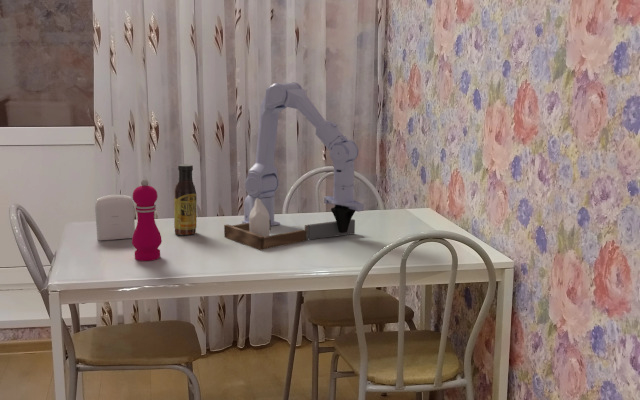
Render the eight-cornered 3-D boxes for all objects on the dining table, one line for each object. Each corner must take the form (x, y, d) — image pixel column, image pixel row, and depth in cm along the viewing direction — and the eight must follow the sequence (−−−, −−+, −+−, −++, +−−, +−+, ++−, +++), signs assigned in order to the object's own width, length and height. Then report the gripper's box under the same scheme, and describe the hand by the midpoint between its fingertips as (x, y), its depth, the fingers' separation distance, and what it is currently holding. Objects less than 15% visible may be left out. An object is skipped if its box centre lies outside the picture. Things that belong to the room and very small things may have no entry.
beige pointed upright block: (268, 200, 189) (247, 200, 190) (268, 243, 192) (248, 243, 192) (270, 196, 195) (250, 196, 195) (270, 238, 198) (250, 237, 198)
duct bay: (224, 237, 198) (224, 222, 197) (272, 228, 209) (272, 214, 208) (260, 250, 185) (260, 234, 184) (309, 240, 196) (309, 225, 195)
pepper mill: (137, 253, 181) (134, 176, 177) (165, 253, 181) (162, 177, 177) (129, 261, 174) (125, 181, 170) (158, 261, 174) (155, 182, 170)
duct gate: (309, 239, 196) (310, 225, 195) (307, 238, 197) (307, 224, 196) (354, 233, 203) (354, 219, 202) (352, 232, 204) (352, 219, 203)
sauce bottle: (181, 237, 197) (179, 167, 194) (170, 233, 202) (168, 164, 198) (201, 233, 202) (200, 165, 198) (190, 229, 206) (188, 162, 202)
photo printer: (97, 241, 192) (94, 197, 190) (96, 238, 196) (94, 194, 194) (135, 239, 195) (133, 195, 193) (134, 235, 199) (133, 192, 197)
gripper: (316, 182, 199) (315, 229, 201) (350, 190, 188) (349, 239, 190) (334, 180, 203) (334, 225, 206) (369, 187, 192) (368, 235, 195)
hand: (343, 232), depth 198 cm, fingers closed
